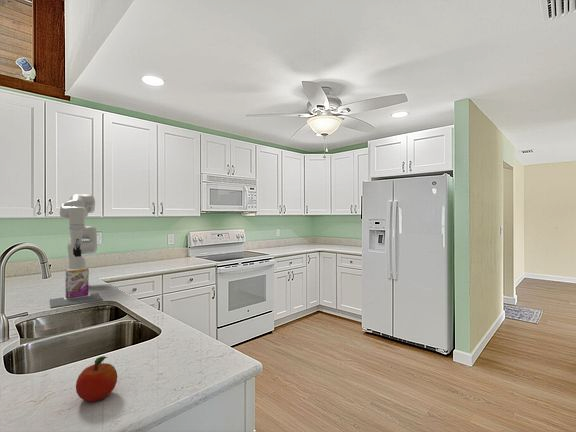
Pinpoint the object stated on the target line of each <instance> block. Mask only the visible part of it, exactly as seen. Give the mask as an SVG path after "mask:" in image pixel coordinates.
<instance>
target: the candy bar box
mask: <svg viewBox="0 0 576 432" xmlns="http://www.w3.org/2000/svg"><path fill="white" fill-rule="evenodd" d="M64 288H65V290H64V291H65V294H64V297H66V298H73V297H80V296H86V295H88V294H89V268H88V267H85V268H81V269H70V270H69V269H65V287H64Z"/></svg>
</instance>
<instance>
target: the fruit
mask: <svg viewBox="0 0 576 432" xmlns="http://www.w3.org/2000/svg"><path fill="white" fill-rule="evenodd" d="M106 359H108V357H107V356H98V357H97V358H96V359H95V360H94V363H93V364H91V365H88V366H87V367H85V368H84V369H83V370H82V371H81V372H80V374H79V375H78V376H77V379H76V383H75V392H76V394H77V396H78V397H79V398H80V399H81V400H82V401H84V402H88V403H89V402H90V403H91V402H98V401H100V400H103V399H105V398H106V397H108V396H109V395H110V394H111V393H112V392H113V390H114V389H115V387H116V384H117V383H118V372H117V369H116V367H115V366H113V365H112V364H111V363H106V362H105V363H103V362H104V360H106Z"/></svg>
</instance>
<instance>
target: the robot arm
mask: <svg viewBox="0 0 576 432" xmlns="http://www.w3.org/2000/svg"><path fill="white" fill-rule="evenodd" d="M95 209H96V200H95V197H94V196H93V195H92V194H82V193H81V194H78V193H77V194H76V193H75V194H73V195H71V196H70V197H69V200H68V201H66V202H63V203H62V204H61V205H60V208H59V217H60V218H61V219H64V220H66V219H67V220H68V223H69V225H68V228H69V229H68V230H69V236H70V242H69V243H68V244H67V253H68V254H67V255H68V270H70V269H81V268H86V259H85V258H84V257H83V256H82V255H87V254H95V253H97V251H98V233H97V228H96V227H95V226H93V225H85V219H86V218H87V217H88V215H89V214H93V213H94V212H95Z"/></svg>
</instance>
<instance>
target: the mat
mask: <svg viewBox="0 0 576 432" xmlns="http://www.w3.org/2000/svg"><path fill="white" fill-rule="evenodd" d="M101 301H103V297H102V296H101V295H100V294H99V292H93V293H88V295H86V296H80V297H73V298H66V297H65V296H62V297H56V298H50V299H49V305H50V309H54V308H55V309H56V308H61V307H67V306H73V305H74V306H75V305H80V304H81V305H82V304H89V303H94V302H101Z"/></svg>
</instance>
